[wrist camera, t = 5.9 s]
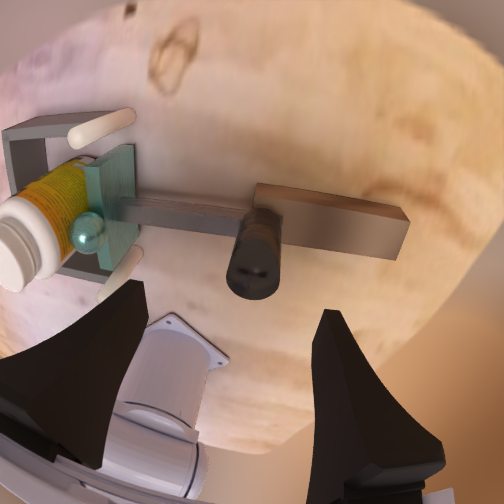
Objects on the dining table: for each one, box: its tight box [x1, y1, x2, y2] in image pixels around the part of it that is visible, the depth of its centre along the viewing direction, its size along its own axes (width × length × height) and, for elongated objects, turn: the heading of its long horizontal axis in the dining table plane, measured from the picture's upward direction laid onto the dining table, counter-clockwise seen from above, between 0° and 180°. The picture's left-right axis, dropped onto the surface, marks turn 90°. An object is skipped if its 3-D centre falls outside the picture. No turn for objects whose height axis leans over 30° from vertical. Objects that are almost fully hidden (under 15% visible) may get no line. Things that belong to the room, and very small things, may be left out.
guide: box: [253, 183, 410, 261], centre depth 20 cm, size 10×3×2 cm, turn 84°
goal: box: [1, 108, 143, 304], centre depth 18 cm, size 9×12×6 cm
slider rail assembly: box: [68, 145, 283, 300], centre depth 17 cm, size 12×7×8 cm, turn 84°
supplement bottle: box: [0, 156, 95, 292], centre depth 17 cm, size 6×6×10 cm
